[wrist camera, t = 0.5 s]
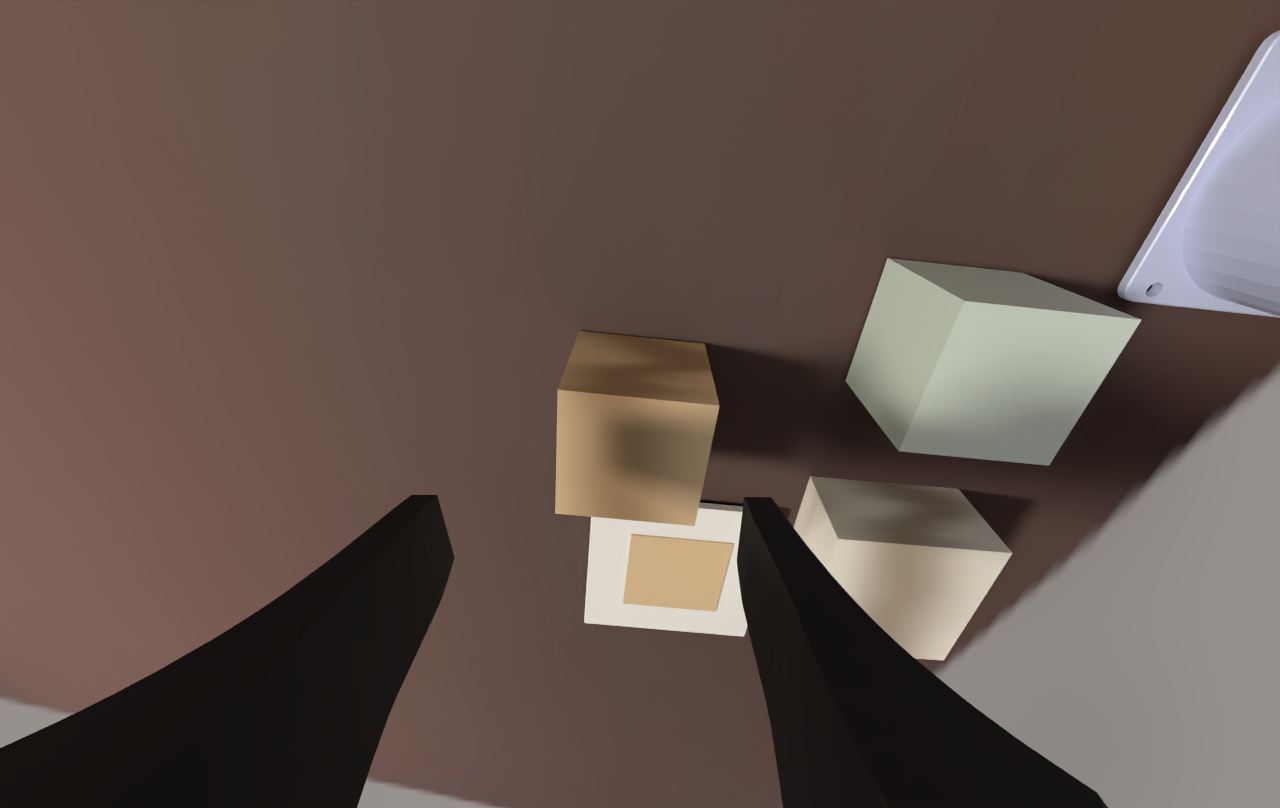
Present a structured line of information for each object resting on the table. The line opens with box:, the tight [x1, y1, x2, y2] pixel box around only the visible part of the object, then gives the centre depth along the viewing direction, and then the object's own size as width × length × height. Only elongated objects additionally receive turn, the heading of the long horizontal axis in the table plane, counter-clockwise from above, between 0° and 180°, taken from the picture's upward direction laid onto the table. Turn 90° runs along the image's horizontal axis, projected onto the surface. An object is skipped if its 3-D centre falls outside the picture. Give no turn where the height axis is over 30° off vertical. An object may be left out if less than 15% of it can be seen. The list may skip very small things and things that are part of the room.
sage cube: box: [846, 258, 1141, 466], centre depth 17 cm, size 5×5×5 cm
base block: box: [794, 476, 1012, 661], centre depth 23 cm, size 7×7×4 cm
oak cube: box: [555, 331, 720, 526], centre depth 18 cm, size 5×5×5 cm
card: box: [584, 503, 747, 636], centre depth 25 cm, size 9×9×1 cm
